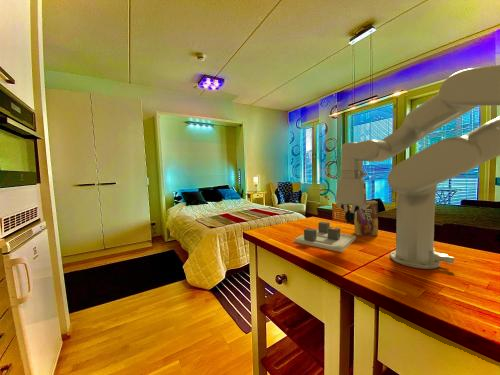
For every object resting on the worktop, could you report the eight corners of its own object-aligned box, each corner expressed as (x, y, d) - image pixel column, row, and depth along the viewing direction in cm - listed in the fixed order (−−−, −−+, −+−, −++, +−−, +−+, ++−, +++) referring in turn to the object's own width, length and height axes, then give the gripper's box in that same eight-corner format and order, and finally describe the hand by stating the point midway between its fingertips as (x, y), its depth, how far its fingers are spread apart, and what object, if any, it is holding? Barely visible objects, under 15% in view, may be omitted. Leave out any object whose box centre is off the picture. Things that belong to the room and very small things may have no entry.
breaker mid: (340, 238, 88) (340, 227, 88) (337, 239, 86) (337, 229, 86) (330, 236, 91) (330, 226, 91) (327, 238, 89) (327, 228, 88)
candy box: (374, 233, 99) (374, 200, 98) (378, 235, 95) (378, 201, 94) (353, 232, 101) (354, 200, 100) (356, 235, 97) (356, 201, 96)
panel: (355, 239, 91) (355, 235, 91) (341, 252, 78) (341, 247, 78) (313, 232, 104) (313, 228, 104) (294, 242, 91) (294, 238, 90)
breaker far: (329, 231, 98) (329, 222, 98) (327, 232, 96) (327, 224, 96) (321, 229, 101) (321, 221, 101) (318, 231, 99) (318, 222, 98)
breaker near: (316, 239, 88) (316, 229, 87) (313, 241, 86) (313, 231, 85) (307, 237, 90) (307, 228, 90) (304, 239, 88) (303, 229, 88)
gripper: (375, 175, 80) (373, 223, 82) (335, 174, 90) (334, 217, 92) (370, 176, 74) (368, 227, 76) (328, 175, 84) (327, 221, 86)
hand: (349, 222), depth 84 cm, fingers closed
